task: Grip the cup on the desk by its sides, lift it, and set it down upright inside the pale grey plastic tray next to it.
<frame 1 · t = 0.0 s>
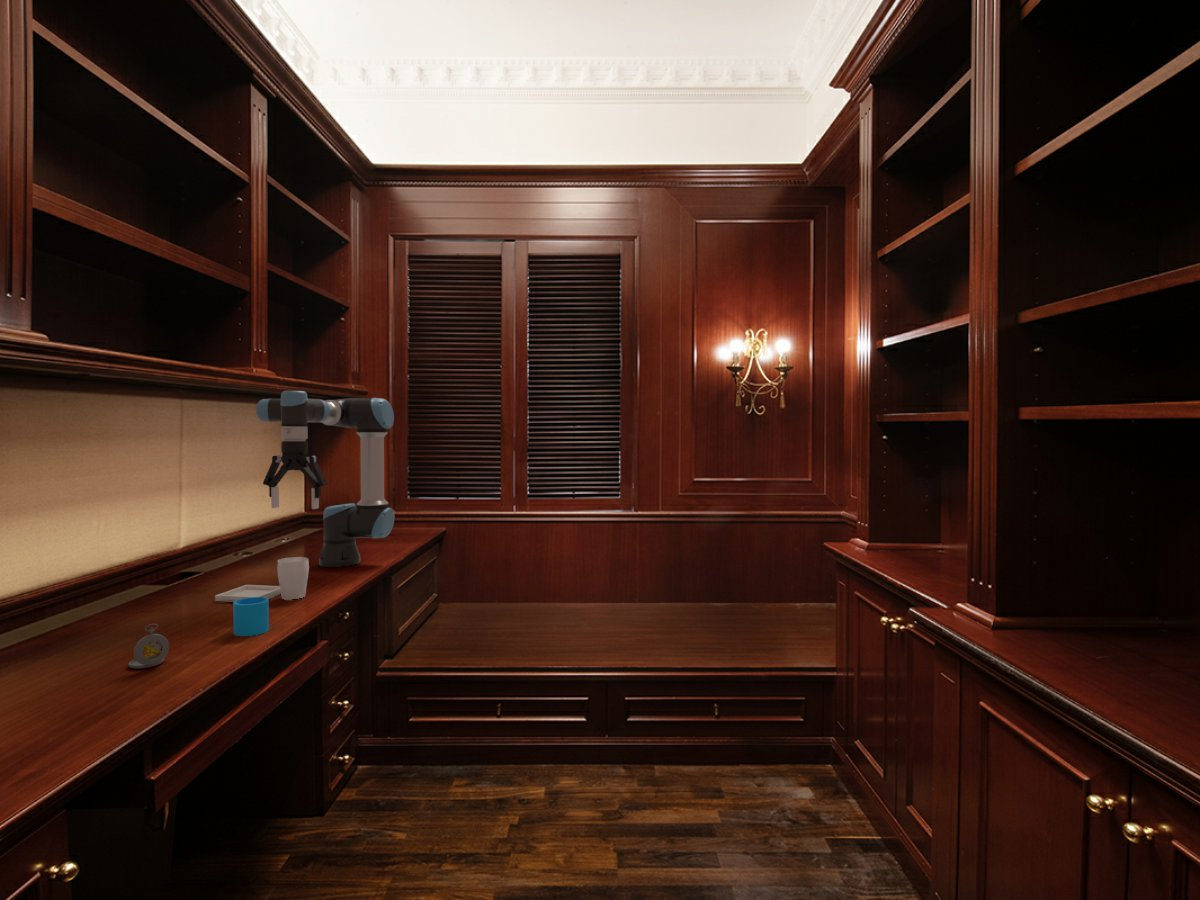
hand: (295, 508, 206), 28 cm above the table, tool pointing down, fingers open, 13 cm apart
mug: (255, 630, 173), on the table
pocket watch: (147, 667, 146), on the table
tray: (251, 597, 206), on the table
cup: (293, 598, 206), on the table
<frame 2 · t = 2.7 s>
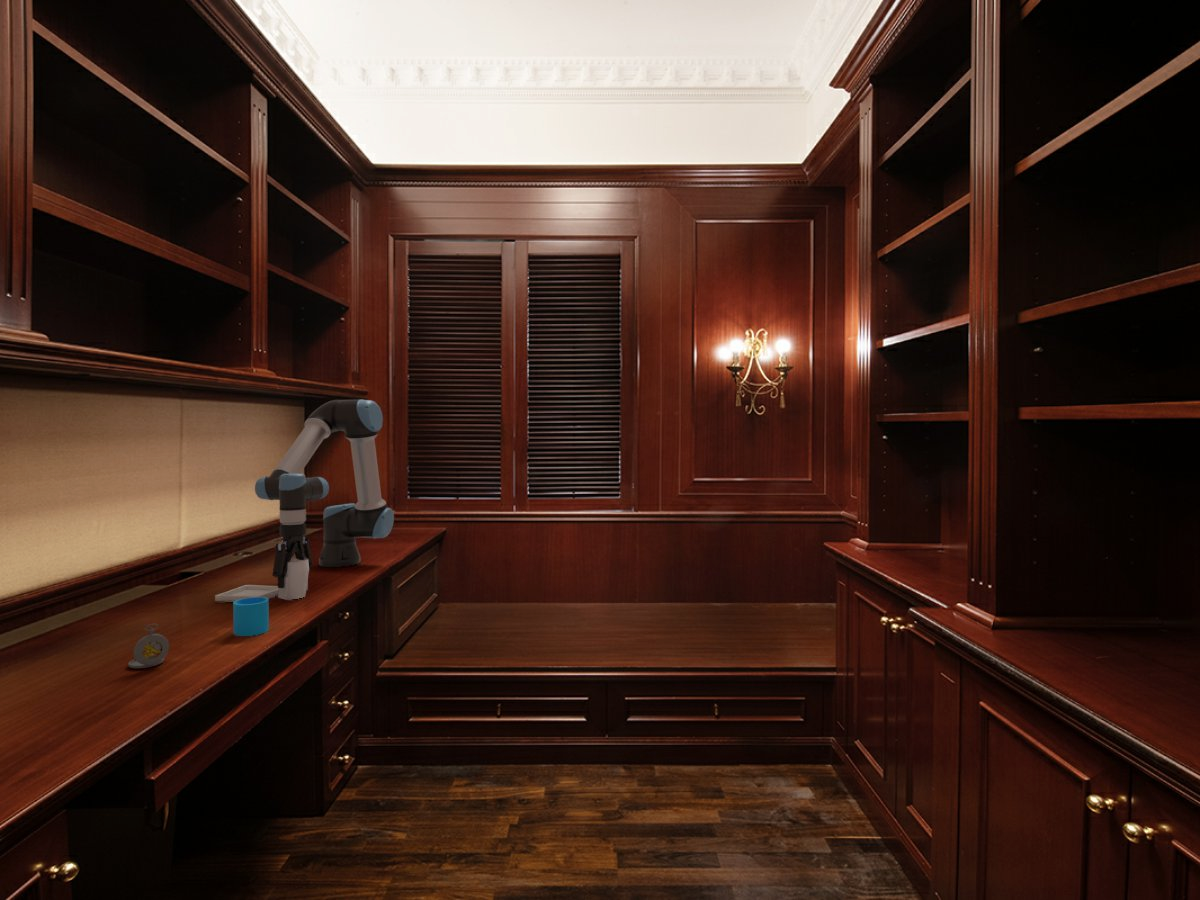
hand: (293, 593, 206), 1 cm above the table, tool pointing down, fingers open, 10 cm apart
cup: (293, 598, 206), on the table, touching gripper
everything else where it was.
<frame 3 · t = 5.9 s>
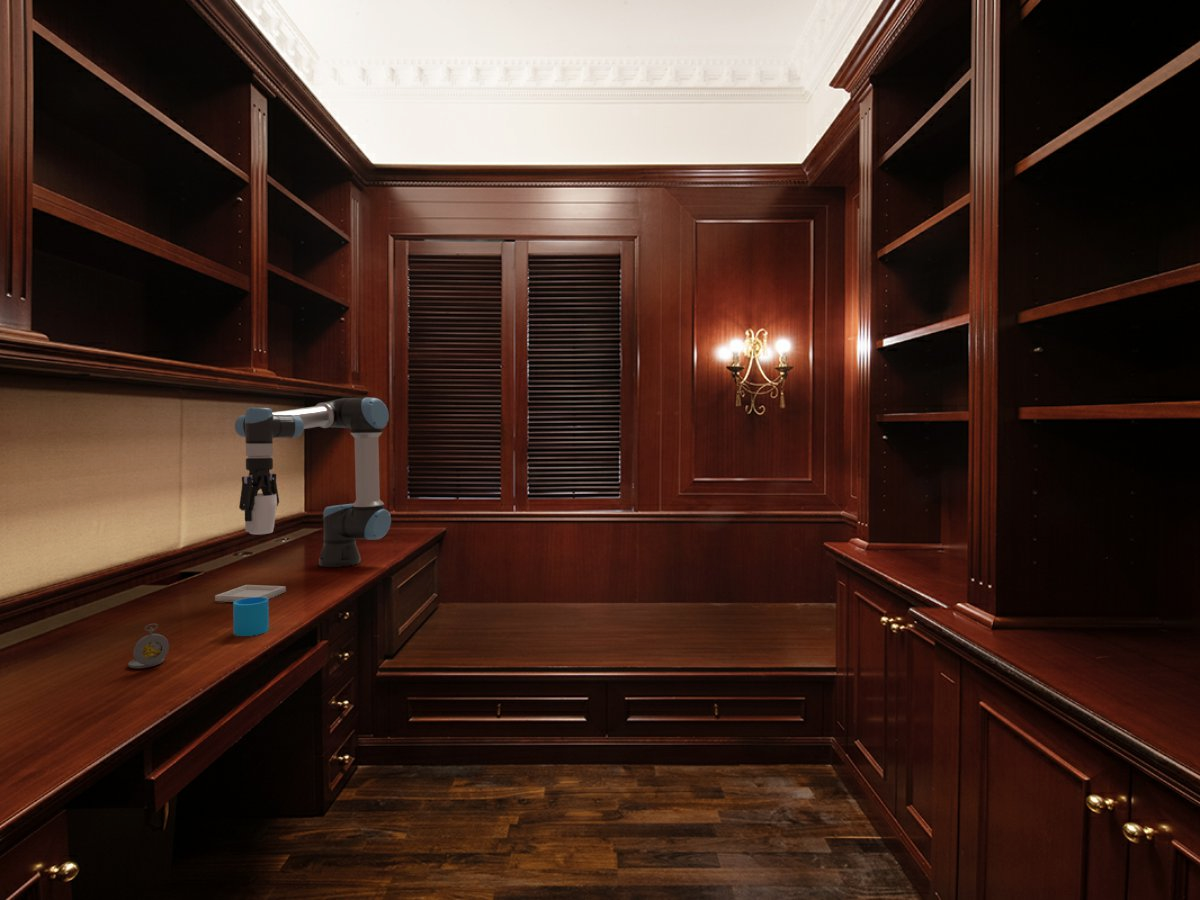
hand: (260, 529, 205), 21 cm above the table, tool pointing down, fingers closed on cup, 9 cm apart
cup: (261, 533, 206), point 20 cm above the table, touching gripper
everything else where it was.
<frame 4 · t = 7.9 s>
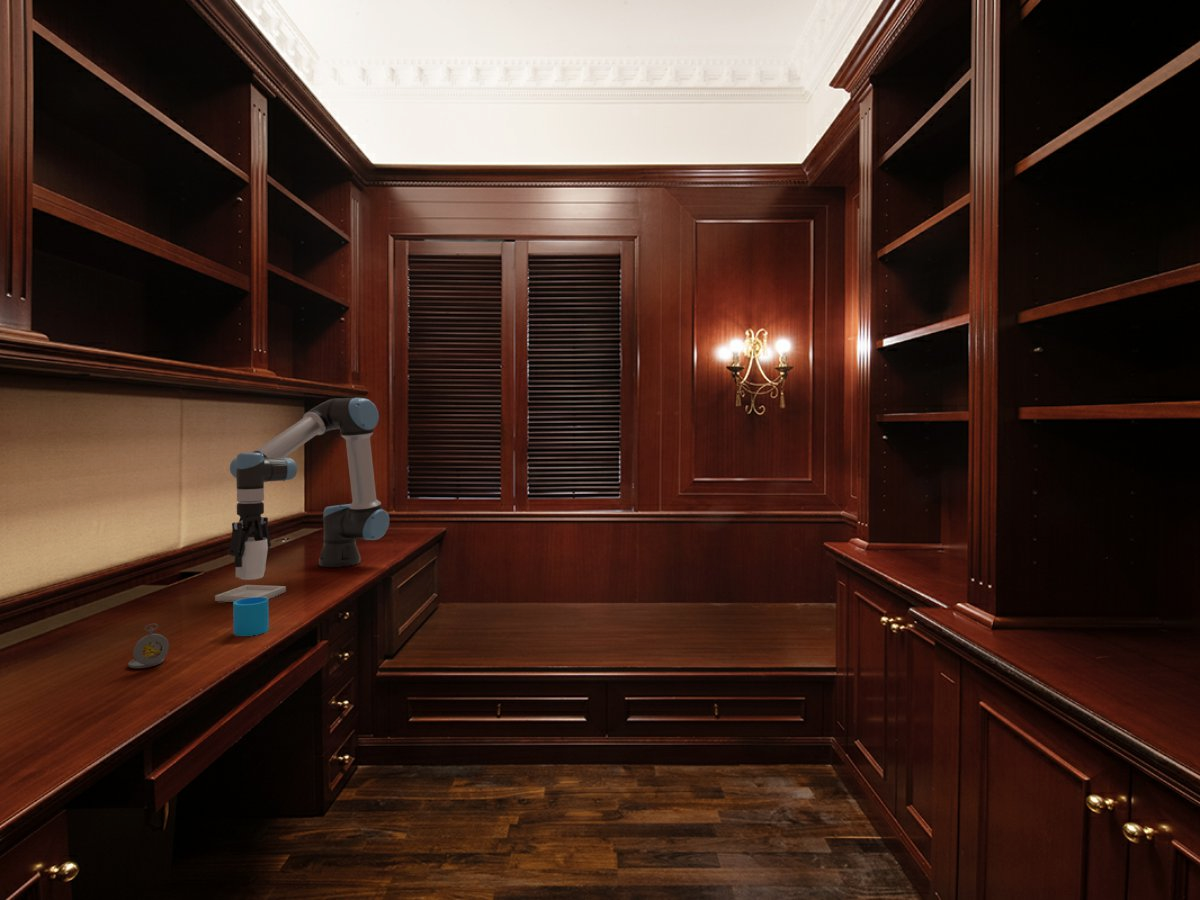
hand: (251, 573, 206), 7 cm above the table, tool pointing down, fingers closed on cup, 9 cm apart
cup: (251, 578, 206), point 6 cm above the table, touching gripper
everything else where it was.
when the fingers open (4 cm above the table, at t = 9.0 s): cup drops 2 cm, resting on tray.
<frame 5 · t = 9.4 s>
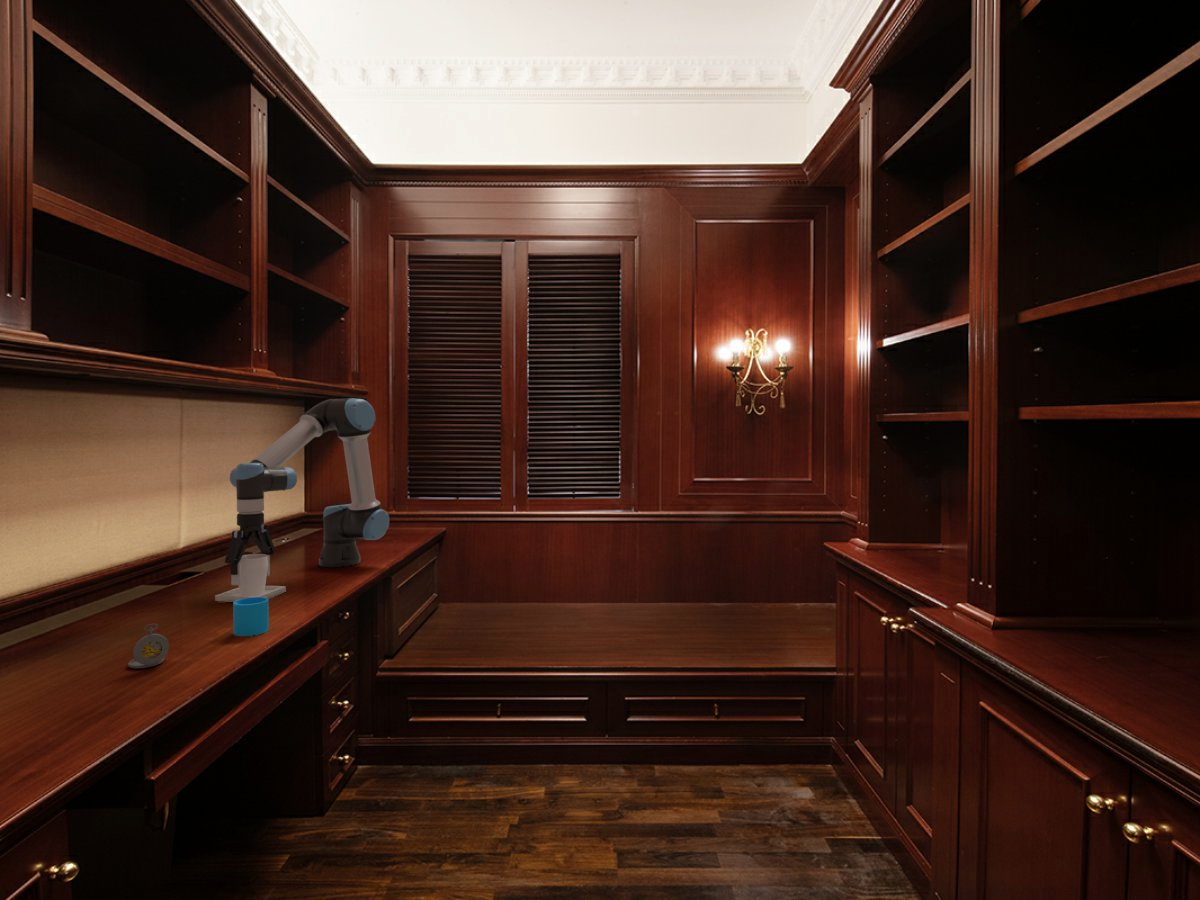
hand: (251, 580, 206), 5 cm above the table, tool pointing down, fingers open, 13 cm apart
cup: (252, 595, 206), point 1 cm above the table, touching tray
everything else where it was.
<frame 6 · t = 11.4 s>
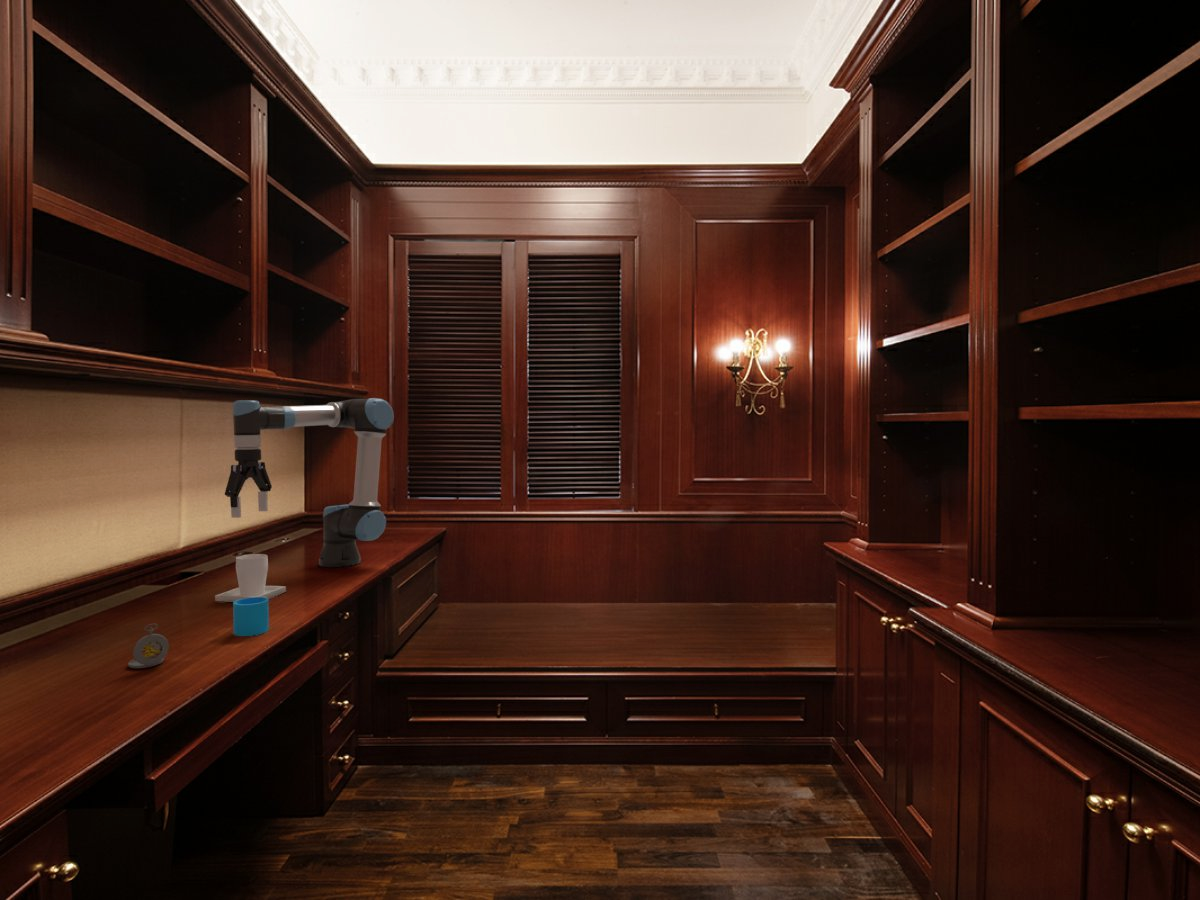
hand: (250, 514, 212), 25 cm above the table, tool pointing down, fingers open, 13 cm apart
nothing on the table moved.
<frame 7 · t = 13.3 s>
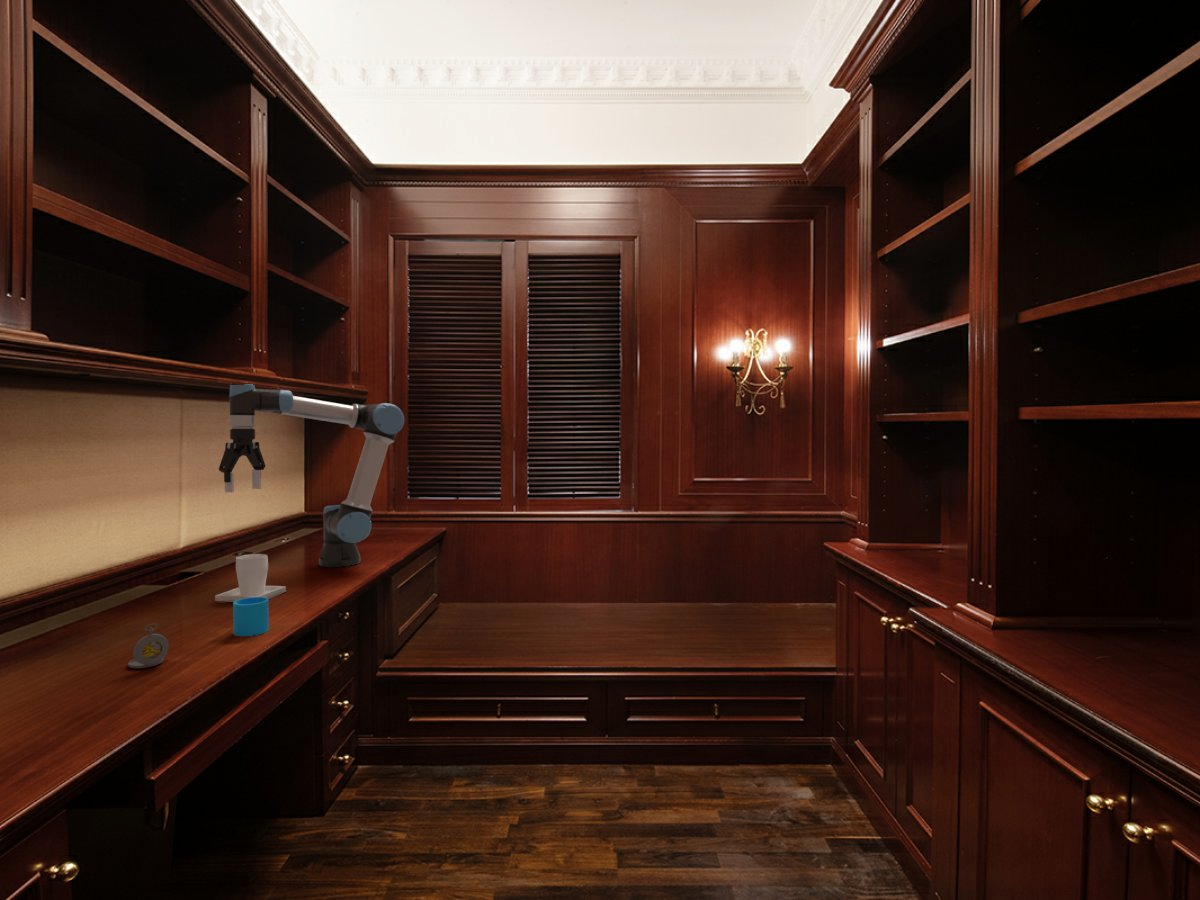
hand: (243, 490, 224), 32 cm above the table, tool pointing down, fingers open, 13 cm apart
nothing on the table moved.
at the end: cup inside the target area on the tray (0.3 cm from its centre), point 0.6 cm above the tray's base; cup tilted 0°; the gripper is holding nothing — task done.
